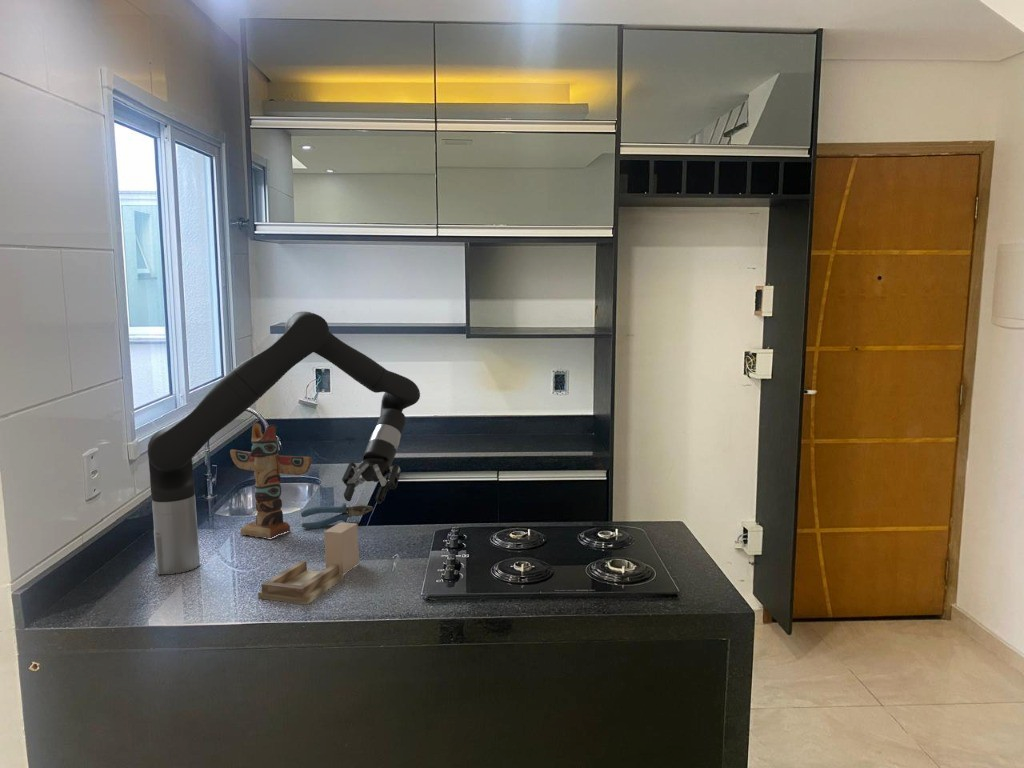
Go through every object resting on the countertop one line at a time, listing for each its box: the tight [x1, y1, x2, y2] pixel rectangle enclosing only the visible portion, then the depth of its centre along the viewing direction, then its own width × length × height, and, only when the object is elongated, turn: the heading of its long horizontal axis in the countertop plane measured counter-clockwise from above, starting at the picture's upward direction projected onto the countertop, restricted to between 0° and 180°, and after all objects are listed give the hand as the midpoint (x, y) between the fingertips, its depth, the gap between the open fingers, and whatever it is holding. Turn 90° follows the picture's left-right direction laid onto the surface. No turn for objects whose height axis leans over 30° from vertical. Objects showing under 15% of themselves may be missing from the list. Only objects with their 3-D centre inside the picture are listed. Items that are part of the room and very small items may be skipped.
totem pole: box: [229, 422, 312, 538], centre depth 190 cm, size 29×7×30 cm, turn 65°
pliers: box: [300, 502, 374, 530], centre depth 198 cm, size 20×2×6 cm, turn 115°
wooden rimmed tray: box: [257, 560, 344, 605], centre depth 153 cm, size 14×12×3 cm
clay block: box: [323, 521, 360, 574], centre depth 164 cm, size 7×4×10 cm, turn 162°
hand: (362, 501), depth 172 cm, fingers open, 8 cm apart
